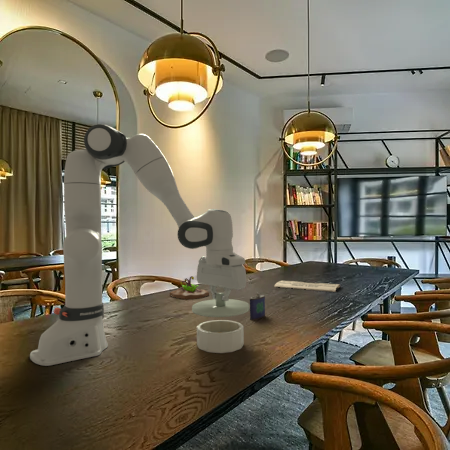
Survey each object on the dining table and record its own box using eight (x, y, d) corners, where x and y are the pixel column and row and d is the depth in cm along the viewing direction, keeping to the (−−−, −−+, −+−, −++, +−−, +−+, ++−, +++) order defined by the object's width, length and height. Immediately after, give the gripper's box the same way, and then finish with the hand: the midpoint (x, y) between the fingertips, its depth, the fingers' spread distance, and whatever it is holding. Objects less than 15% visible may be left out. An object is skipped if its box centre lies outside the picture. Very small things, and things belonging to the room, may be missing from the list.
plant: (186, 301, 184) (186, 279, 183) (164, 296, 198) (164, 276, 198) (214, 295, 197) (214, 275, 197) (192, 291, 211) (192, 272, 211)
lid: (220, 320, 104) (220, 303, 104) (180, 310, 117) (179, 294, 117) (261, 308, 117) (260, 292, 117) (220, 299, 131) (220, 285, 130)
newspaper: (340, 287, 220) (340, 283, 220) (335, 293, 202) (335, 288, 202) (282, 283, 236) (282, 279, 236) (273, 288, 219) (273, 284, 219)
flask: (261, 315, 154) (261, 290, 154) (267, 316, 152) (267, 291, 152) (248, 319, 147) (248, 293, 147) (254, 320, 145) (253, 294, 145)
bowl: (219, 356, 106) (219, 336, 106) (188, 344, 117) (188, 326, 117) (252, 344, 117) (252, 326, 117) (220, 334, 128) (220, 317, 128)
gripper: (192, 257, 122) (192, 297, 122) (235, 261, 108) (236, 306, 108) (205, 255, 127) (206, 294, 127) (249, 259, 112) (249, 302, 112)
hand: (220, 299), depth 117 cm, fingers closed on lid, 3 cm apart
